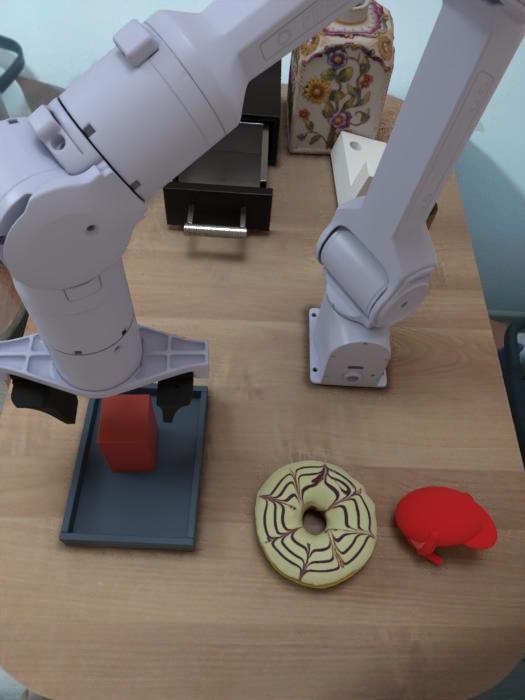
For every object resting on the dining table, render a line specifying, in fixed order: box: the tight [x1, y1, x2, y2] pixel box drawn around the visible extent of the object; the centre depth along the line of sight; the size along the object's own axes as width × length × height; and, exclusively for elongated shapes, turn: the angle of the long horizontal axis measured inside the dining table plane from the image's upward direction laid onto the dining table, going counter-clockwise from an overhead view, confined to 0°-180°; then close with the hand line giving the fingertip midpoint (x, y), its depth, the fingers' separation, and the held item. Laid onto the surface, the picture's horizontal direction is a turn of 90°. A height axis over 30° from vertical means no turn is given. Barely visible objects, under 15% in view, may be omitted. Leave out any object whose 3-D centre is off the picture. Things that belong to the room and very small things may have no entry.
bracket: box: [330, 131, 387, 208], centre depth 71 cm, size 13×7×8 cm, turn 2°
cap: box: [394, 485, 499, 566], centre depth 48 cm, size 8×6×6 cm
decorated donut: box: [254, 459, 378, 589], centre depth 49 cm, size 10×11×4 cm
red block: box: [97, 394, 158, 472], centre depth 50 cm, size 4×4×7 cm
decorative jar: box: [286, 0, 396, 156], centre depth 72 cm, size 12×12×18 cm
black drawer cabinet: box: [241, 58, 283, 167], centre depth 76 cm, size 15×14×8 cm
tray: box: [58, 382, 209, 552], centre depth 52 cm, size 15×11×2 cm
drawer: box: [162, 119, 274, 240], centre depth 68 cm, size 18×12×6 cm
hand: (121, 412), depth 45 cm, fingers open, 7 cm apart
